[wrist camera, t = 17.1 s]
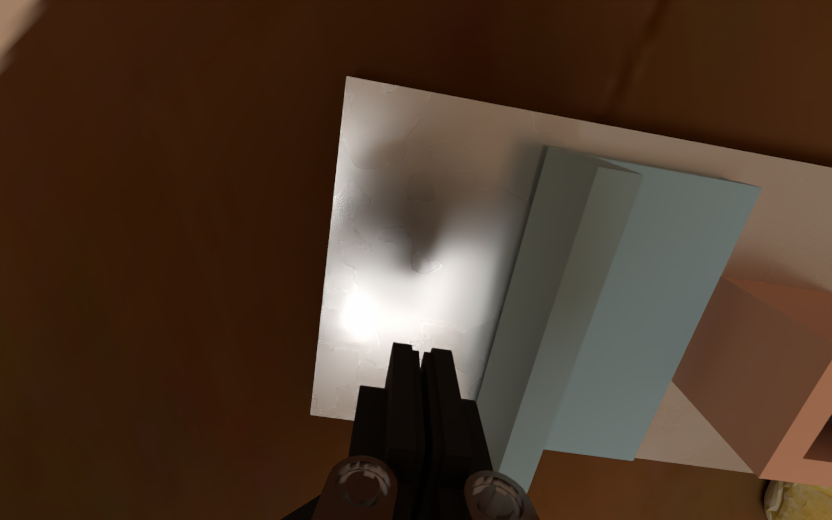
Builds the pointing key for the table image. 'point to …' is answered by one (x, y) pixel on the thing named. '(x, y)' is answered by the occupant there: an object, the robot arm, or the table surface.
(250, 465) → the table surface
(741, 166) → the base
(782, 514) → the bread roll
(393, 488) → the robot arm
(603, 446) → the cover
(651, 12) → the table surface
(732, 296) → the block
